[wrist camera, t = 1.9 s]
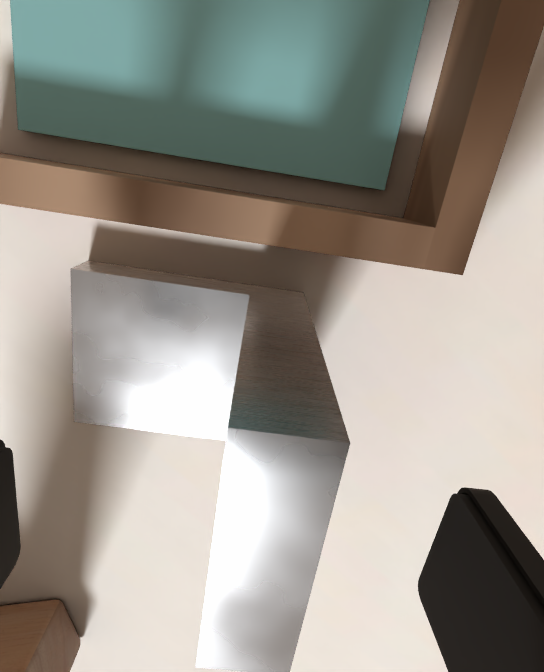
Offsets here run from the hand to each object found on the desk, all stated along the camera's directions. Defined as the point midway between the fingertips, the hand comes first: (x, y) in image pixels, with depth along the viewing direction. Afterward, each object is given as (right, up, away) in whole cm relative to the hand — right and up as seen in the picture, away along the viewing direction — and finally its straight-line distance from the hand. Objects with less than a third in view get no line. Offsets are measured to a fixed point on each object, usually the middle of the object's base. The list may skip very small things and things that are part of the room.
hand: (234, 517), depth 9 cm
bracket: (-2, +3, +8) cm, 9 cm away
